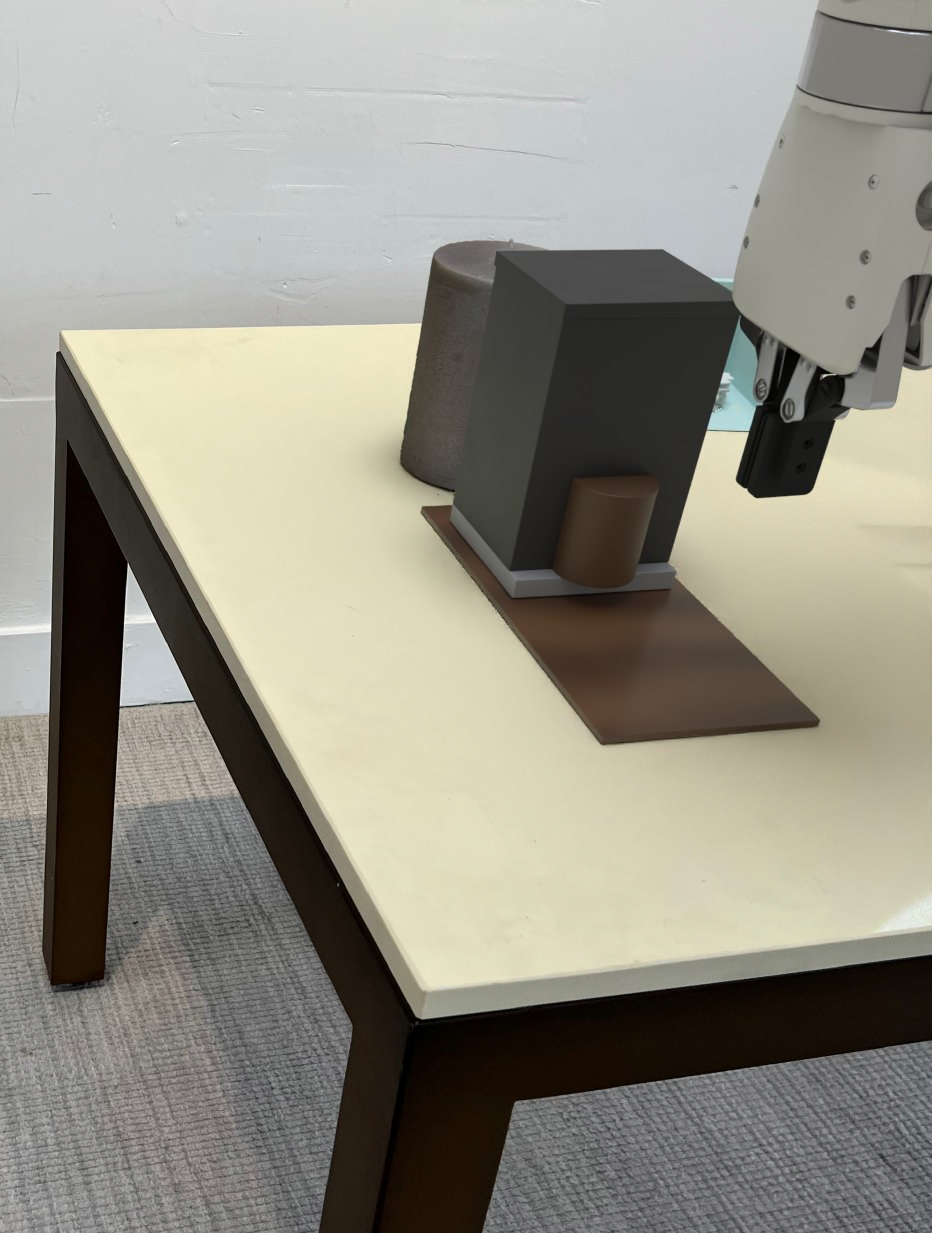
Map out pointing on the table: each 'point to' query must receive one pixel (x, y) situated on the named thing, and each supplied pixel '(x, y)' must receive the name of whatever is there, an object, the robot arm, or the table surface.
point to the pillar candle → (449, 357)
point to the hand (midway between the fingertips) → (772, 488)
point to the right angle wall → (736, 382)
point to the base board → (639, 658)
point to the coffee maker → (589, 417)
